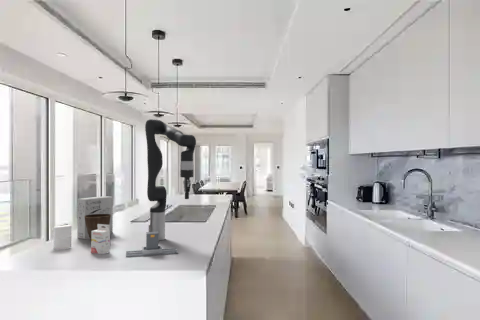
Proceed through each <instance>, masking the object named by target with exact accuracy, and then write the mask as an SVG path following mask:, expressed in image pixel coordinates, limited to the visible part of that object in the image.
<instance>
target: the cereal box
mask: <svg viewBox="0 0 480 320" xmlns="http://www.w3.org/2000/svg"><path fill="white" fill-rule="evenodd" d="M113 199H114V198H113V196H107V195H105V196H104V195H103V196H93V197H82V198H77V233H76V234H77V239H82V240H87V239H90V238H89V235H88V232H87V228H86V224H85V217H84V216H86V215H92V214H110V215H111V218H110V224H109V229H110V235H111V234H113V230H114V229H113V227H114V226H113V224H114V223H113V222H114V221H113V218H114V217H113V216H114V215H113V214H114V213H113V211H114V210H113V209H114V207H113V206H114V205H113V204H114V202H113V201H114V200H113Z"/></svg>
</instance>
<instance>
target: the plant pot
mask: <svg viewBox="0 0 480 320" xmlns="http://www.w3.org/2000/svg"><path fill="white" fill-rule="evenodd" d="M84 217H85V224H86V228H87V232H88V235H89V238H88V239H89V240H90V241H91V231H93V230H98V227H97V224H104V225H109V224H110V218H111V215H110V214H92V215H86V216H84ZM101 227H102V228H106V227H104V226H101Z"/></svg>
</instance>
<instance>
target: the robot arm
mask: <svg viewBox="0 0 480 320" xmlns="http://www.w3.org/2000/svg"><path fill="white" fill-rule="evenodd" d="M144 125H145V127H144V128H145V129H144V132H145V137H146V148H147V149H146V150H147V151H146V152H147V159H146V160H147V161H146V162H147V187H146V188H147V192H146V195H147V199H148V201H150V202H156V203H155V204H154V205H152V206H151V207H149V224H148V232H158V242H159V241H163V240H165V239H166V207H167V194H168V193H167V189H166V187H165V186H163V185H156V182H157V181H156V180H157V178H158V175H160V174H159V173H160V172H161V170H162V167H163V152H162V150H161V149H160V147H159V146H158V144H157V142H156V137H155V136H156V135H162V136H166V138H167V139H168V140H170V141H172V142H175V143H176V144H177V145H178V146H180V147H184V148H186V149H185V150H182V151H181V152H180V165H179V166H180V178H184V179H183V181H182V184H183V192H184V199H185V200H190V192H191V184H192V181H191V179H190V178H194V171H195V170H194V152H195V148H196V145H197V139H196V137H195V136H194V135H193V134H186V133H185V134H184V133H183V132H182V131H180V130H178V129H175V128H172V127H171V126H169V125H167V124H166V123H165V122H164V121H162V120H159V119H151V118H149V119H147V120H146V121H145V124H144Z"/></svg>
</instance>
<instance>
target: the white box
mask: <svg viewBox="0 0 480 320" xmlns="http://www.w3.org/2000/svg"><path fill="white" fill-rule="evenodd" d="M72 231H73V230H72V224H66V225H59V226H58V225H57V226H53V249H54V250H67V249H70V248H72Z"/></svg>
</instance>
